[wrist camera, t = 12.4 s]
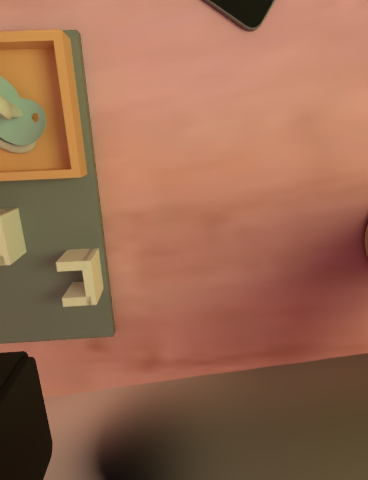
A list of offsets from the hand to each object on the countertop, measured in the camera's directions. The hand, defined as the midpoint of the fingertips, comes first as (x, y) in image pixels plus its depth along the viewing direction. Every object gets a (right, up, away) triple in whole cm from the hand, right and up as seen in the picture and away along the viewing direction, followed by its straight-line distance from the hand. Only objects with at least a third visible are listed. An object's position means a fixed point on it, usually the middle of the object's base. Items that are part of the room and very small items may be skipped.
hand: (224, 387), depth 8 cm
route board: (-17, +8, +29) cm, 34 cm away
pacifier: (-18, +16, +25) cm, 34 cm away
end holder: (-18, +16, +25) cm, 34 cm away
